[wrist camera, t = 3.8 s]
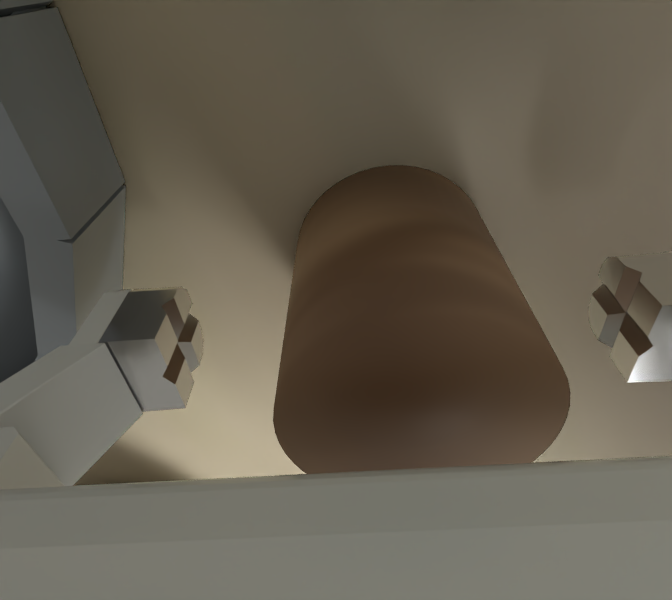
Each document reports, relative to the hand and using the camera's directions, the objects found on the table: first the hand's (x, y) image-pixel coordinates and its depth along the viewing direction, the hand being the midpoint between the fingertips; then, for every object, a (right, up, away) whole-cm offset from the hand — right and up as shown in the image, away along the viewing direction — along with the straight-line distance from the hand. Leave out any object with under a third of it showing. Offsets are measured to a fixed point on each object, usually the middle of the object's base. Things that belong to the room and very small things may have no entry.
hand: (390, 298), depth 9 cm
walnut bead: (0, +1, +2) cm, 2 cm away
